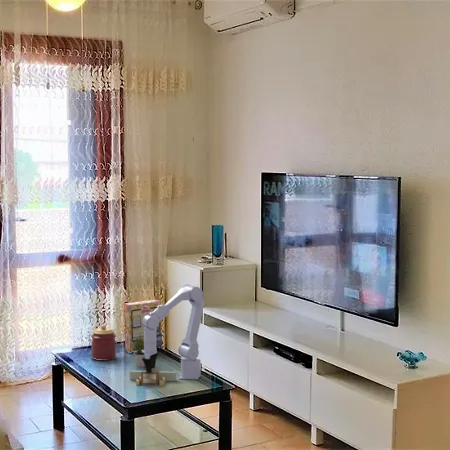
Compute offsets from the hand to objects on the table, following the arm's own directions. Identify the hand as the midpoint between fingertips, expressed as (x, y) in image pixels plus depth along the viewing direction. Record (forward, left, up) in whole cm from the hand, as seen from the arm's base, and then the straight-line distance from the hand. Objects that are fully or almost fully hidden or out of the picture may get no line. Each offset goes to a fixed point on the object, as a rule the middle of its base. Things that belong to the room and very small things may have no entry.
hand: (150, 370), depth 334 cm
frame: (0, 0, -6) cm, 6 cm away
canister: (+34, -44, -7) cm, 56 cm away
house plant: (+12, -30, -7) cm, 33 cm away
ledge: (0, -2, -6) cm, 7 cm away
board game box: (+17, -63, -7) cm, 66 cm away
